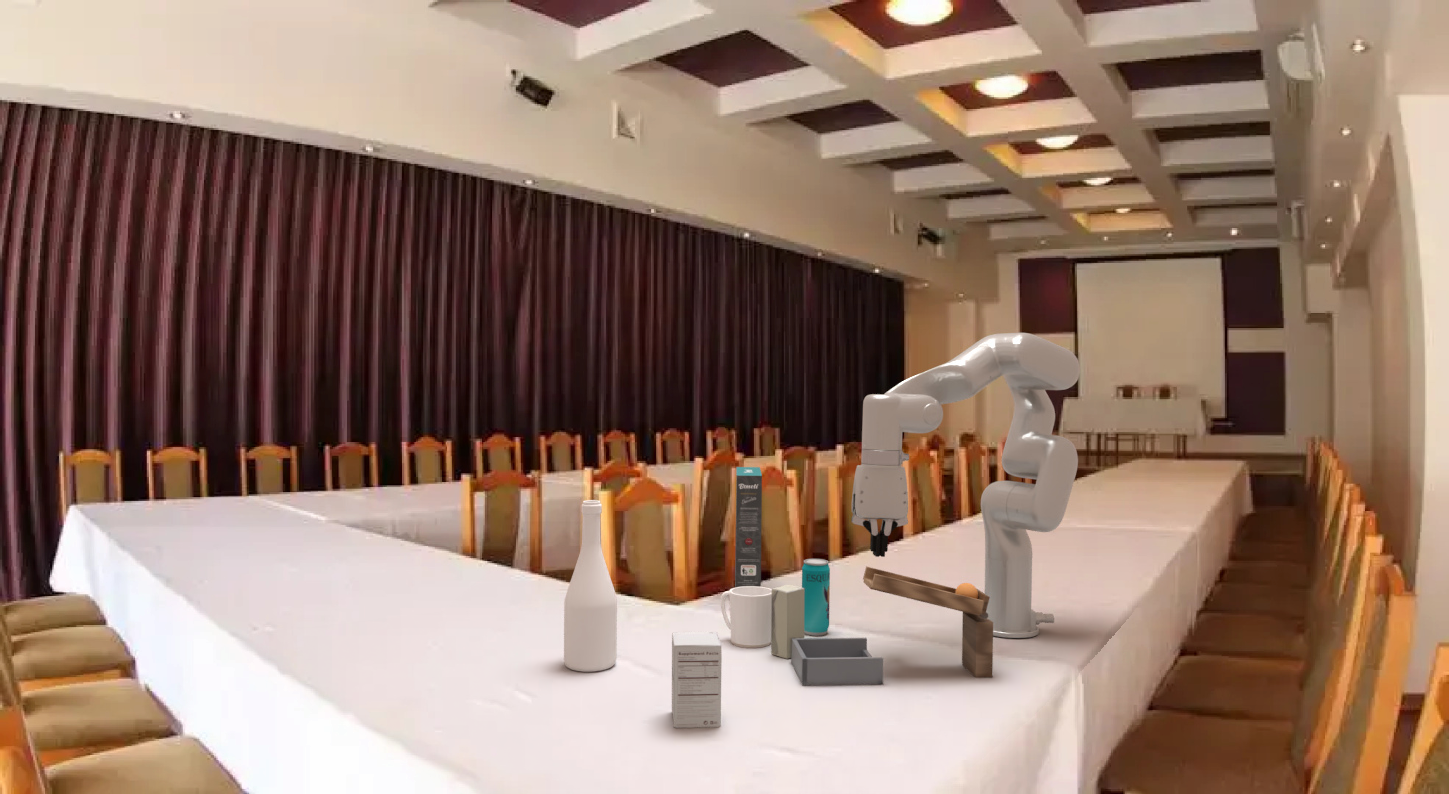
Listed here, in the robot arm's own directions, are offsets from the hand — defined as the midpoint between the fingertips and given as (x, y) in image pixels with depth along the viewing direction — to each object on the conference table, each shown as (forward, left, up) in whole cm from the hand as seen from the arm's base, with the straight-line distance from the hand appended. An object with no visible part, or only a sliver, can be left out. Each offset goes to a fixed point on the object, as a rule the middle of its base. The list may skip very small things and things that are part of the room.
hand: (878, 555), depth 176 cm
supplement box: (+36, +31, -20) cm, 52 cm away
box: (+17, -2, -20) cm, 26 cm away
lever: (-6, +6, -6) cm, 10 cm away
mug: (+24, -11, -20) cm, 33 cm away
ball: (-14, +10, -5) cm, 18 cm away
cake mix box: (+19, -55, -20) cm, 62 cm away
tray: (+10, +10, -19) cm, 24 cm away
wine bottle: (+54, +3, -20) cm, 58 cm away
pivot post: (-16, +10, -19) cm, 27 cm away
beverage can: (+9, -17, -20) cm, 27 cm away
